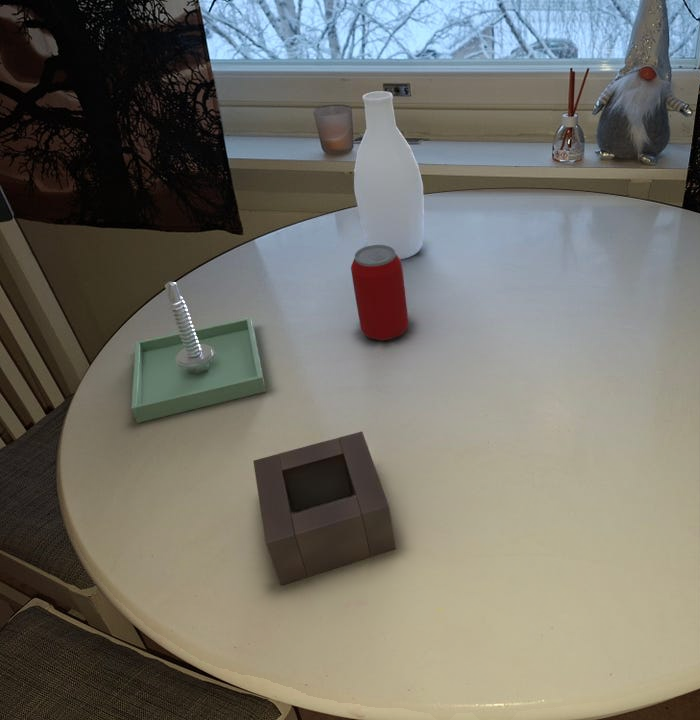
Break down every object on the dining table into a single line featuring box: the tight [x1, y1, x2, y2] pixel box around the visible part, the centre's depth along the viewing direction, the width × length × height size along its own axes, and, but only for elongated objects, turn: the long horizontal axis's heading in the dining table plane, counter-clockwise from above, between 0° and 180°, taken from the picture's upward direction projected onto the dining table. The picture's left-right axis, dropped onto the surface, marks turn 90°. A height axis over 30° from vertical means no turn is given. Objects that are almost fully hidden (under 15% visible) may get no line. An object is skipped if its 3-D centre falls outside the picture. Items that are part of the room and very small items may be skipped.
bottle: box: [353, 90, 425, 260], centre depth 109 cm, size 11×11×25 cm
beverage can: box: [350, 245, 409, 341], centre depth 92 cm, size 7×7×12 cm
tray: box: [130, 317, 267, 424], centre depth 89 cm, size 15×15×2 cm
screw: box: [164, 281, 215, 374], centre depth 85 cm, size 13×5×5 cm
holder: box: [252, 431, 397, 586], centre depth 66 cm, size 11×11×6 cm
